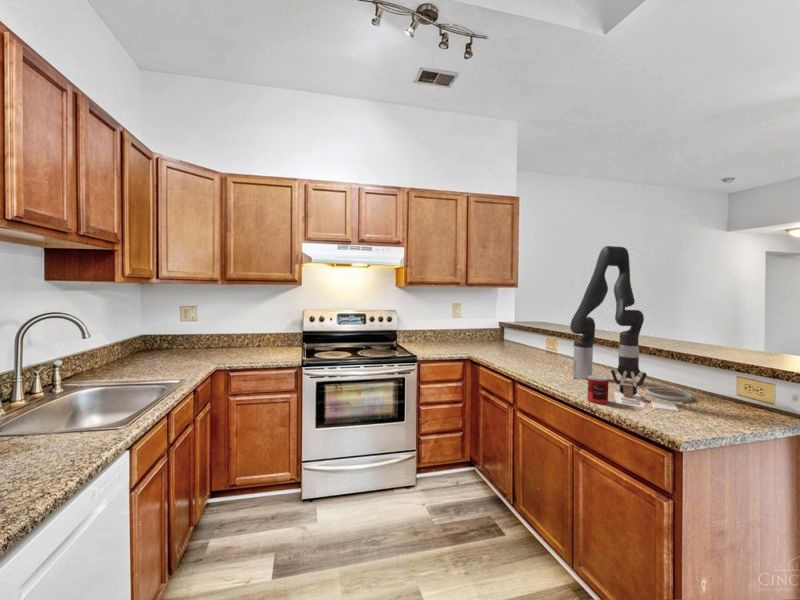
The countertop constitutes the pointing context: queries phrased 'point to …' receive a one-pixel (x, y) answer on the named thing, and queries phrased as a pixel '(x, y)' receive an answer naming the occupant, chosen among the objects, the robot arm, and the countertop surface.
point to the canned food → (598, 389)
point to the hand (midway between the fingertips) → (627, 393)
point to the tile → (664, 405)
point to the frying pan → (668, 393)
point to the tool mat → (618, 401)
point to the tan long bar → (628, 395)
